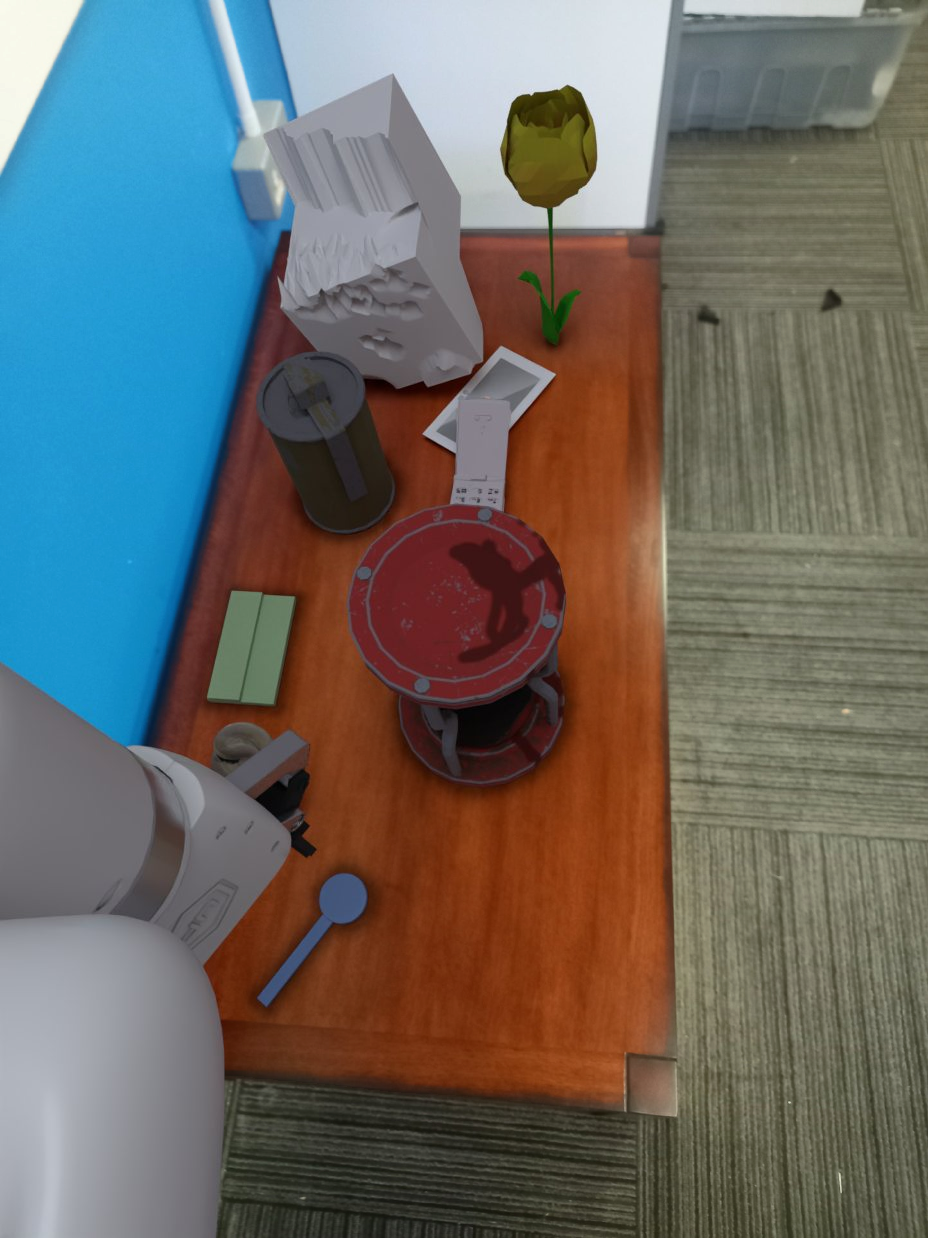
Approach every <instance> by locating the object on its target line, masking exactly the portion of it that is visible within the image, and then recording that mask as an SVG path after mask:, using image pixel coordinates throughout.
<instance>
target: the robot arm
mask: <svg viewBox="0 0 928 1238" xmlns="http://www.w3.org/2000/svg"><path fill="white" fill-rule="evenodd" d="M310 751H311V743H309V742H308V741H307V740H305V738H303V737H302V736H301V735H299V734H298V733H297V732H295V731H294V730H293V729H291V728H290V729H286V731H285V730H284V732H282V733H281V734H280V735H278V736H277V737H276V738H275V739H273V741H272V742H271V743H269V744H268V745H267V746H265V747H264V748H263V749H261V750H260V751H259V752H258V753H256V754H255V755H254V756H252V757H251V758H250V759H248V760H247V761H246V762H244V763H243V764H242V765H240V766H239V767H238V768H236V769H235V770H234V771H232V772H231V773H230V774H229V775H227V776H226V777H223V776H221V775H220V774H218V773H216V772H215V771H213V770H211V768H209V767H207V766H206V765H204V764H202V763H200V762H198V761H195V760H193V759H192V758H189V757H186V756H185V755H181V754H178V753H176V752H172V751H170V750H166V749H162V748H158V747H152V746H147V745H138V744H135V745H134V744H132V745H131V744H130V745H127V746H125V745H123V744H122V743H120V742H119V741H117V740H115V739H113V738H112V737H110V736H109V735H108V734H106V733H105V732H103V731H102V730H100V729H99V728H97V727H96V726H95V725H93V724H91V723H90V722H89V721H88V720H86V719H85V718H83V717H82V716H80V715H79V714H77V713H76V712H74V711H73V710H72V709H70V708H69V707H67V706H66V705H65V704H63V703H62V702H60V701H58V700H57V699H56V698H54V697H53V696H52V695H50V694H48V693H47V692H46V691H44V689H43V690H42V689H41V688H39V687H38V686H37V685H36V684H34V683H32V681H30V680H28V679H27V678H25V677H24V676H23V675H21V674H19V672H16V671H15V670H14V669H12V668H11V667H10V666H8V665H7V664H5V663H4V662H2V661H1V660H0V1238H217V1230H218V1229H217V1228H218V1217H219V1216H218V1215H219V1205H220V1192H221V1191H220V1190H221V1178H222V1160H223V1146H224V1145H223V1143H224V1131H225V1129H224V1128H225V1110H226V1109H225V1107H226V1106H225V1047H224V1045H225V1044H224V1037H223V1036H224V1035H223V1027H222V1022H221V1017H220V1012H219V1007H218V1002H217V997H216V994H215V990H214V988H213V985H212V983H211V981H210V978H209V975H208V974H207V972H206V970H205V968H204V966H205V964H206V963H207V962H208V960H209V959H210V958H211V956H212V955H214V953H215V952H216V950H218V948H219V947H220V946H221V944H222V943H223V942H224V941H225V939H226V938H227V937H228V936H229V935H230V933H231V932H232V931H233V930H234V928H235V927H236V926H237V925H238V923H239V922H240V921H241V920H242V919H243V917H244V916H245V915H246V913H247V912H248V911H249V910H250V908H251V907H252V906H253V905H254V904H255V902H256V901H257V899H258V898H259V897H260V896H261V895H262V894H263V893H264V891H265V890H266V889H267V887H268V886H269V884H270V883H271V882H272V881H273V879H274V878H275V877H276V876H277V874H278V873H279V871H280V870H281V869H282V867H283V866H284V864H285V862H286V860H287V858H288V856H289V854H290V852H291V848H292V849H294V850H295V851H296V852H297V853H299V854H300V855H302V856H303V857H304V858H305V859H308V858H309V857H313V855H314V854H315V853H316V852H317V850H318V848H317V847H316V846H314V845H313V844H312V843H310V842H309V841H308V840H307V839H306V838H304V837H303V836H304V834H305V833H306V832H307V831H308V829H309V828H310V827H311V825H310V824H309V823H308V822H307V821H306V820H305V819H306V817H307V813H306V812H305V811H304V810H303V809H302V808H301V807H300V806H301V802H302V800H303V798H304V795H305V792H306V790H307V788H308V786H309V784H310V778H311V774H310V773H309V772H307V770H306V767H307V766H308V765H309V761H310Z"/></svg>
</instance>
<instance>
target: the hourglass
mask: <svg viewBox="0 0 928 1238" xmlns="http://www.w3.org/2000/svg"><path fill="white" fill-rule="evenodd" d="M566 604H567V591H566V587H565V582H564V578H563V572H562V569H561V565H560V562H559V560H558V559H557V557H556V555H555V554H554V553H553V551H552V550H551V548H550V546H549V545H548V544H547V542H546V541H545V539H544V537H543V536H542V535H541V534H539V533H538V532H537V531H536V530H534V529H533V528H532V527H531V526H530V525H529V524H527V523H526V522H524V521H523V520H522V519H520V518H519V517H517V516H515V515H512V514H510V513H507V512H505V511H504V512H502V511H500V510H497V509H495V508H492V507H490V506H481V505H470V504H459V503H455V504H450V503H449V504H445V505H439V506H434V507H428V508H423V509H420V510H419V511H417V512H415V513H413V514H411V515H409V516H406V517H405V518H403V519H400V520H398V521H395V522H394V523H393V524H392V525H391V526H389V528H387V529H385V530H384V532H383V533H382V534H380V535H379V536H378V537H377V538H376V539H375V540H374V541H372V542H371V543H370V544H369V546H368V548H367V549H366V551H365V552H364V553H363V556H361V559H360V561H359V562H358V564H357V566H356V567H355V568H354V570H353V573H352V577H351V581H350V584H349V590H348V593H347V598H346V610H347V611H346V612H347V620H348V629H349V634H350V637H351V638H352V641H353V642H354V644H355V647H356V649H357V651H358V653H359V655H360V657H361V659H362V661H363V663H364V665H365V667H366V668H367V669H368V670H369V671H370V672H371V673H372V674H373V675H374V676H375V677H376V678H377V679H378V680H379V681H380V682H381V683H382V684H383V685H384V686H385V687H386V688H387V689H388V690H389V691H390V692H393V693H395V694H397V695H399V697H398V698H399V699H398V703H397V705H398V713H399V714H398V715H399V721H400V729H401V730H402V733H403V735H404V737H405V739H406V741H407V743H408V745H409V747H410V749H411V752H412V753H413V755H414V756H415V757H416V758H417V759H418V760H419V761H420V762H421V763H422V764H423V765H424V766H425V767H426V768H427V769H428V770H429V771H430V772H431V773H432V774H435V775H436V776H439V777H441V778H443V779H445V780H447V781H449V782H450V783H453V784H455V785H460V786H467V787H475V788H482V789H483V788H488V787H494V786H499V785H505V784H509V783H511V782H514V781H515V780H517V779H519V778H521V777H523V776H525V775H527V774H528V773H530V772H532V771H533V770H534V769H535V768H536V767H538V765H539V764H540V763H541V762H542V761H543V760H544V759H545V758H546V757H547V756H548V755H549V754H550V753H551V752H552V750H553V747H554V746H555V743H556V742H557V739H558V738H559V735H560V733H561V731H562V728H563V720H564V713H565V712H564V711H565V705H566V698H565V694H564V689H563V684H562V680H561V676H560V673H559V671H558V670H557V669H558V668H559V660H558V659H559V657H558V656H559V653H558V651H559V650H558V649H559V648H558V642H559V641H560V638H561V636H562V634H563V627H564V620H565V613H566V606H567V605H566Z"/></svg>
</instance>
